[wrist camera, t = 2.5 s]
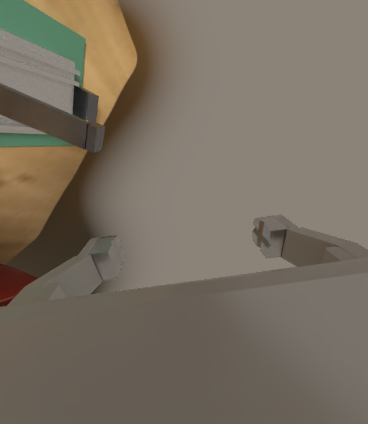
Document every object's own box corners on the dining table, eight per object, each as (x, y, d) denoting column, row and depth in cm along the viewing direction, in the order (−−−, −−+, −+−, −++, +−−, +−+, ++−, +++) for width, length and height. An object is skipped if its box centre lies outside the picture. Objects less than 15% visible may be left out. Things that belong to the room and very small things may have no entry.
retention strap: (-40, 90, 19) (-64, 88, 18) (-48, 59, 18) (-75, 53, 16) (101, 149, 22) (93, 153, 20) (105, 126, 21) (96, 127, 19)
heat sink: (-79, 115, 20) (-41, 141, 19) (-133, -34, 14) (-83, -8, 13) (72, 128, 37) (97, 142, 36) (76, 62, 31) (105, 76, 30)
